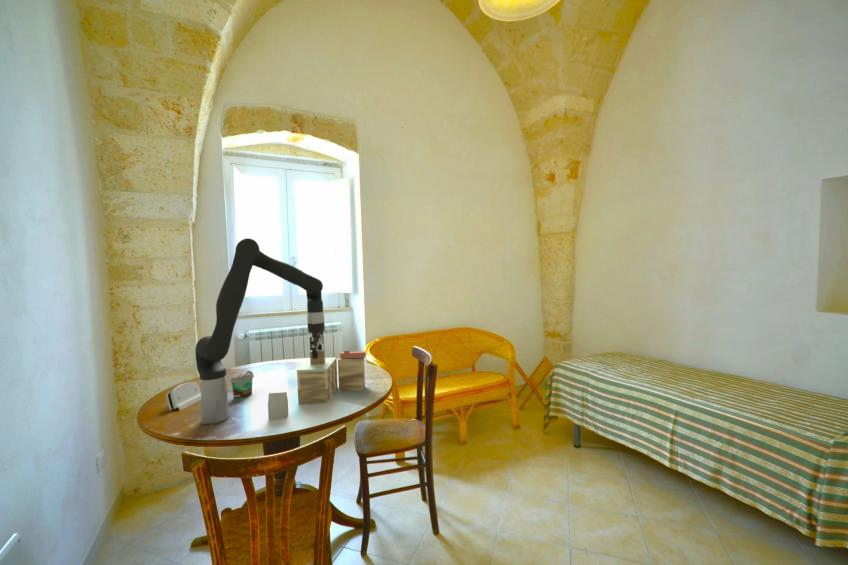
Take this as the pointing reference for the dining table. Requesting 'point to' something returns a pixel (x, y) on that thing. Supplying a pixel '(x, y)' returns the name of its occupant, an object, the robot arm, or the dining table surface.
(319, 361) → the lid
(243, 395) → the food container
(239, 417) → the dining table surface
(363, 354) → the key bar
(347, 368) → the wooden box
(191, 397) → the hinge
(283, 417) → the tea box
